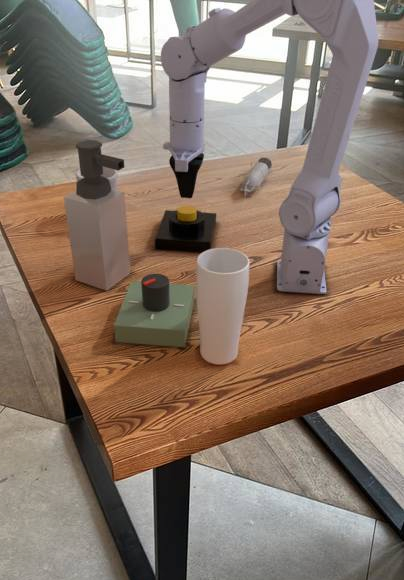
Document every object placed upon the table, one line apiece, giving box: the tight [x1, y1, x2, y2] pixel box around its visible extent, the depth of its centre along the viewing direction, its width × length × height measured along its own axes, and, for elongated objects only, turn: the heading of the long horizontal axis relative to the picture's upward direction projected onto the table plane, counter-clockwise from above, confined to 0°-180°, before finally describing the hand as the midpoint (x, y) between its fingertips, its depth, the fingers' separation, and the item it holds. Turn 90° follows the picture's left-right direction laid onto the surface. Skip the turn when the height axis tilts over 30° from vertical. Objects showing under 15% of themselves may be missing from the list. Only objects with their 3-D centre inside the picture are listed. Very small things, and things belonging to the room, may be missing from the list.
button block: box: [154, 209, 217, 253], centre depth 107 cm, size 12×10×4 cm
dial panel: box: [113, 280, 195, 348], centre depth 85 cm, size 12×10×3 cm
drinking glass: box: [195, 247, 251, 366], centre depth 76 cm, size 7×7×15 cm
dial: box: [140, 273, 170, 311], centre depth 83 cm, size 4×4×4 cm
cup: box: [75, 167, 119, 190], centre depth 112 cm, size 11×8×8 cm
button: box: [176, 205, 198, 222], centre depth 105 cm, size 4×4×2 cm
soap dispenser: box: [63, 139, 131, 291], centre depth 89 cm, size 6×9×22 cm
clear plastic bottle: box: [239, 156, 273, 197], centre depth 126 cm, size 18×5×6 cm, turn 161°
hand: (186, 196), depth 103 cm, fingers closed
